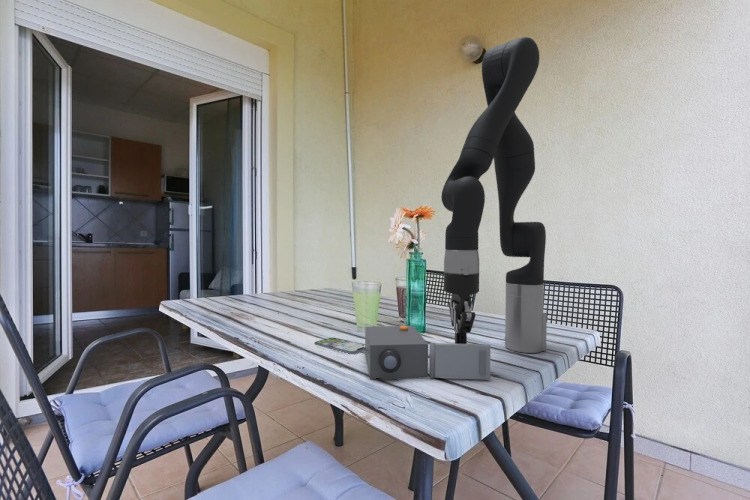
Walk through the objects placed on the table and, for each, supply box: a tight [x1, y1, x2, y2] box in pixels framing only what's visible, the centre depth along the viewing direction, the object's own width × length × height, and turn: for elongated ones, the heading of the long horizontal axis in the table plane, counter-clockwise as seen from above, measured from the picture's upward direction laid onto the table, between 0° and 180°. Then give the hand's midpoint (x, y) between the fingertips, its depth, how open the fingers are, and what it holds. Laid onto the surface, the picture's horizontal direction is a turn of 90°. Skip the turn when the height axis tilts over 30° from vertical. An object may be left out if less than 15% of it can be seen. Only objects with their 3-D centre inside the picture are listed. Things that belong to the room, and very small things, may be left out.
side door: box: [428, 342, 491, 380], centre depth 73 cm, size 2×12×7 cm, turn 85°
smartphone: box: [314, 337, 365, 355], centre depth 96 cm, size 7×1×15 cm
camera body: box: [364, 325, 429, 380], centre depth 81 cm, size 12×17×8 cm
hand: (460, 349), depth 79 cm, fingers closed
